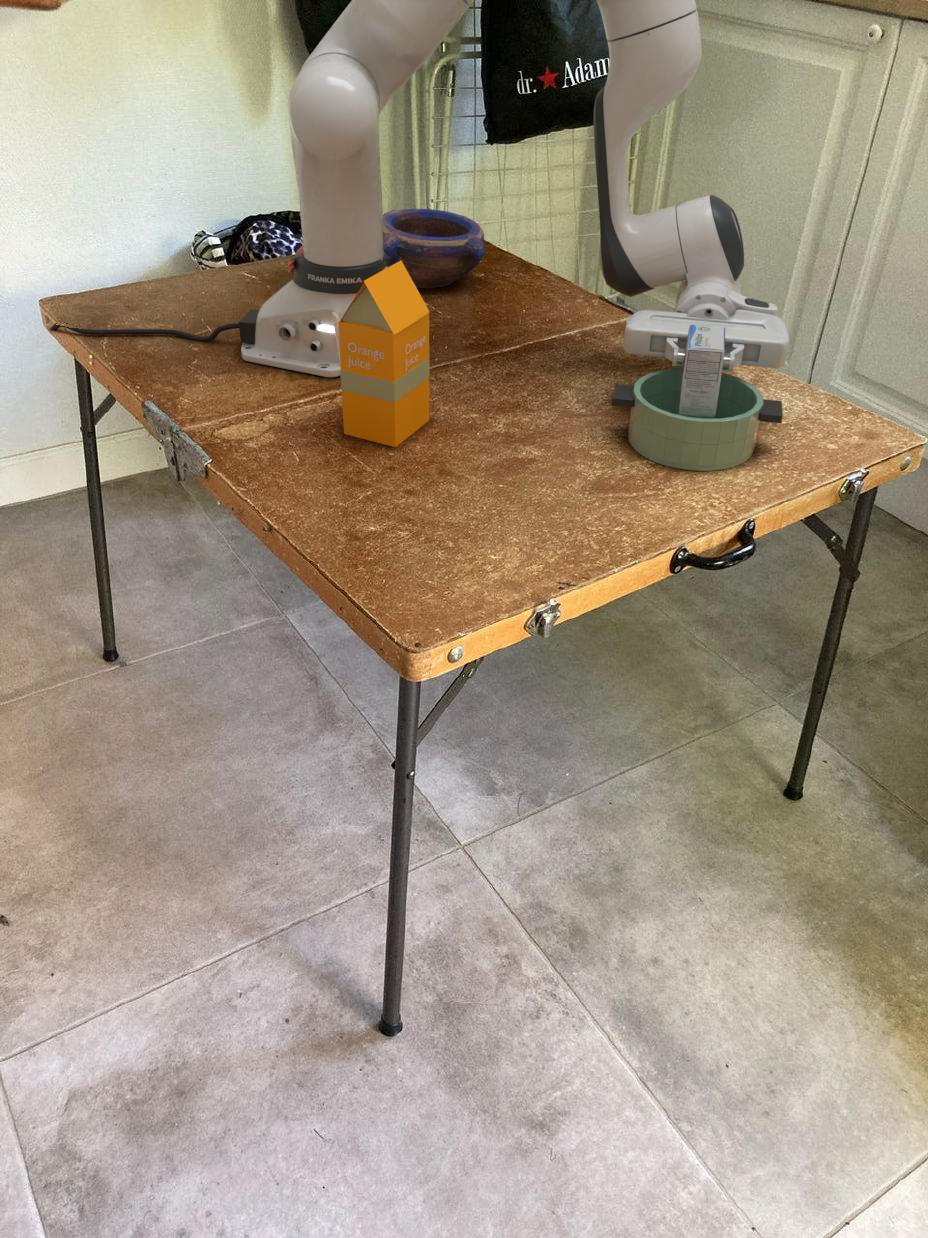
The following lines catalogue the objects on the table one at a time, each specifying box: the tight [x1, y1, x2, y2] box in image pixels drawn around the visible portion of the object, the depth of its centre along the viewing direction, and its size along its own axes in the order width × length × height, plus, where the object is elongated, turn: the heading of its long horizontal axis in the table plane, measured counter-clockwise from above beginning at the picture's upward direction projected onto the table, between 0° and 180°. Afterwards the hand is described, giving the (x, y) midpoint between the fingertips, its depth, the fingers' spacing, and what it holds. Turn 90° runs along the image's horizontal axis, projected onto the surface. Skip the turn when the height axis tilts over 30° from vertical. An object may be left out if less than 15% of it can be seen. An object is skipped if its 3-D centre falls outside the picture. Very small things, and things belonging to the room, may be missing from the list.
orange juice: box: [338, 261, 431, 448], centre depth 130 cm, size 8×9×20 cm
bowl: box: [383, 208, 486, 289], centre depth 179 cm, size 18×18×10 cm
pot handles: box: [611, 383, 784, 424], centre depth 131 cm, size 20×4×1 cm, turn 78°
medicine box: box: [679, 325, 725, 418], centre depth 129 cm, size 8×4×9 cm, turn 168°
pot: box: [627, 367, 764, 472], centre depth 132 cm, size 16×16×6 cm
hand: (703, 363), depth 129 cm, fingers closed on medicine box, 4 cm apart
